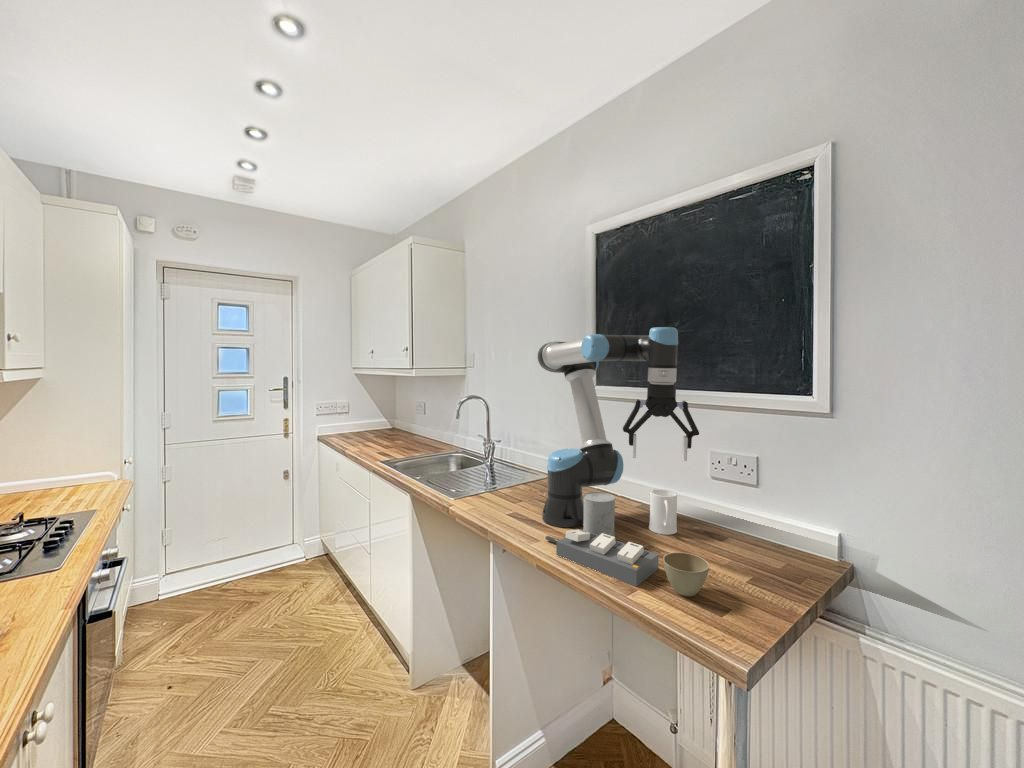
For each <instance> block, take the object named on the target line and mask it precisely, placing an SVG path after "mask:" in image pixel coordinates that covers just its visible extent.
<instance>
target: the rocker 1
mask: <svg viewBox="0 0 1024 768" xmlns="http://www.w3.org/2000/svg"><path fill="white" fill-rule="evenodd" d="M582 530H583V529H572V530H566V531H565V536H564V538H568V539H571V540H574V541H577V542H579V541H585V540H590V533H588V532H585V531H582Z"/></svg>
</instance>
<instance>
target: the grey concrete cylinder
mask: <svg viewBox="0 0 1024 768" xmlns="http://www.w3.org/2000/svg"><path fill="white" fill-rule="evenodd" d="M582 498H583V502H584V524H583V525H582V526H583V527H582V530H584V531H588V532H591V533H594V534H597V535H601V534H602V533H603V534H607V535H610V536H613V537H615V517H616V514H615V509H616V507H615V503H616V497H615V495H613V494H611V493H607V492H601V491H600V492H599V491H593V492H592V491H591V492H587V493H585V494H583V495H582ZM615 538H616V537H615Z"/></svg>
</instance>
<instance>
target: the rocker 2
mask: <svg viewBox="0 0 1024 768" xmlns="http://www.w3.org/2000/svg"><path fill="white" fill-rule="evenodd" d="M615 540H616V537H613V536H610V535H607V534H603V533H602V534H601V535H599V536H598V537H597V538H596V539H595V540H594V541H593V542H592V543H591V544H590V548H591V551H594V552H597V553H600V554H603V555H604V554H605V553H606V552H607V551H608V550H609V549H610V548H611V547H612V546H613V545H614V544H615V543H616V541H617V540H616V541H615Z"/></svg>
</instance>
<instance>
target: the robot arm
mask: <svg viewBox="0 0 1024 768" xmlns="http://www.w3.org/2000/svg"><path fill="white" fill-rule="evenodd" d="M678 349H679V332H678V329H677V328H675V327H672V326H671V327H670V326H665V327H664V326H663V327H662V326H661V327H658V326H657V327H651V328H650V329H649V334H648V335H633V334H631V335H628V334H627V335H626V334H600V333H594V334H587V335H586V336H585V337H584V338H580V339H575V340H571V341H550V342H549V341H548V342H547V343H544V344H543V345H542V346H541V347H540V348H539V349H538V352H537V362H538V364H539V365H540V367H541V368H542V369H544V370H545V371H547V372H550V373H555V374H557V373H559V374H560V373H562V374H563V375H564V378H565V379H564V380H565V381H567V382H569V383H570V389H571V394H572V398H573V404H574V408H575V412H576V418H577V423H578V428H579V433H580V437H581V438H580V439H581V443H582V445H581V446H580V447H579V448H561V449H558V450H555V451H552V452H551V453H550V454H549V455H548V458H547V466H546V470H547V498H546V500H545V503H544V505H543V510H542V513H541V514H542V521H543V522H545V524H548V525H550V526H554V527H559V528H575V527H580V526H583V524H584V498H583V488H589V487H598V486H609V485H612V484H615V483H618V482H619V480H620V479H621V477H622V476H623V472H624V460H623V459H624V458H623V457H622V454H621V453H620V452H619V451H618V450H616V449H614V447H613V443H612V442H610V441H609V440H607V437H606V436H607V435H606V431H605V428H604V423H603V418H602V413H601V408H600V405H599V400H598V395H597V390H596V386H595V383H594V382H595V380H594V377H595V375H596V374H597V372H596V371H597V369H598V368H599V365H600V362H612V361H613V362H622V361H623V362H626V361H627V362H648V366H647V367H648V368H647V369H648V370H647V382H649V383H648V384H647V388H646V389H647V393H646V394H647V395H646V400H640V399H638V398H637V399H635V403H634V407H633V409H632V411H631V413H630V414H629V416H628V417H627V420H626V421H625V423H624V424H623V426H622V432H624V433H627V434H628V445H629V446H631V447H632V451H631V453H632V458H633V459H636V458H637V433H636V432H637V431H638V430H639V429H640V428H641V427H642V426H643V425H644V424H645V423H646V422H647V420H648V419H650V418H651V417H652V416H653V417H655V418H658V417H662V418H668V417H669V416H670V417H671V418H672V420H674V422H675V423H676V424H677V426H679V428H680V429H681V431H682V432H683V433H684V434H685V435H683V436H682V451H681V453H682V454H681V458H682V460H683V462H687V461H688V450H689V449H692V444H693V440H692V439H693V438H694V437H695V436H699V435H700V431H699V429H698V427H697V425H696V423H695V421H694V419H693V417H692V415H691V413H690V410H689V405H688V404H689V403H688V402H687V401H686V400H682V401H677V398H676V396H677V385H676V384H675V383H676V382H677V374H678V373H677V370H678V369H677V368H678V352H679V351H678ZM644 406H645V407H646V408H647V410H646V411H645V412H644V414H643V415H642V416H641V417H640V418H639V419H638V420H637V421H636V422H635V423H634V424H633V425H632V423H633V421H634V420H635V418H636V416H637V414H638V413H639V411H640V409H643V407H644ZM677 407H679V409H680V410H682V413H683V415H684V418H686V421H687V423H688V425H689V427H690V430H689V429H688V428H687V426H686V425H685V424H684V423H683V421H682V420H681V419H680V417H678V416H677V413H675V412H674V411H675V409H676V408H677ZM631 425H632V426H631Z"/></svg>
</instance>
